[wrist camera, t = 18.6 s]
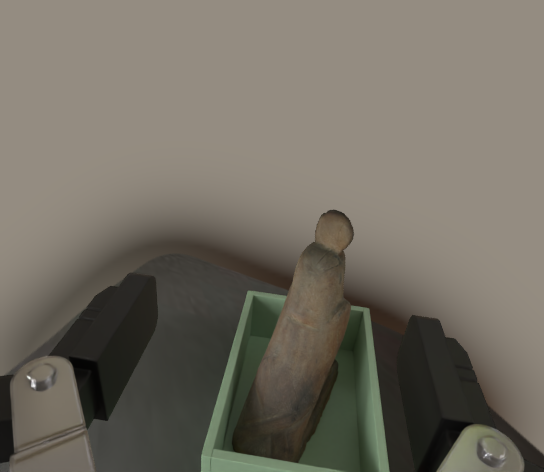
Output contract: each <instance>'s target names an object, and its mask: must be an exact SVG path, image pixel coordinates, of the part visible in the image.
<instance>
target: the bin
mask: <svg viewBox="0 0 544 472" xmlns="http://www.w3.org/2000/svg"><path fill="white" fill-rule="evenodd" d="M286 297H287V296H282V295H276V294H269V293H262V292H254V291H248V293H247V296H246V300H245V304H244V307H243V311H242V314H241V318H240V321H239V325H238V328H237V332H236V335H235V339H234V342H233V346H232V349H231V353H230V356H229V360H228V363H227V367H226V370H225V374H224V378H223V381H222V385H221V388H220V392H219V395H218V399H217V402H216V406H215V409H214V413H213V416H212V420H211V423H210V427H209V430H208V434H207V437H206V441H205V444H204V448H203V451H202V455H201V472H389V464H388V456H387V448H386V440H385V432H384V424H383V416H382V408H381V400H380V391H379V383H378V375H377V367H376V359H375V351H374V343H373V335H372V327H371V320H370V311H369V308H362V307H357V306H351V312H350V317H349V321H348V324H347V328H346V331H345V335H344V338H343V340H342V342H341V345H340V348H339V350H338V353H337V355H336V357H335V360H336V361H337V362H338V376H337V379H336V382H335V384H334V386H333V389H332V391H331V395H330V399H329V400H328V402H327V404H326V406H325V410H324V411H323V413H322V417H320V422H319V424H318V426H317V428H318V429H317V428H316V431H315V433H314V435H312V436H311V439H310V441H309V442H307V443H306V448H305V451H304V452H303V455H302V456H301V457H300V460H299V463H294V462H288V461H282V460H276V459H270V458H265V457H259V456H253V455H247V454H241V453H236V452H235V451H234V450H233V445H232V437H233V432H234V429H235V427H236V425H237V422H238V419H239V417H240V414H241V411H242V409H243V406H244V403H245V401H246V398H247V396H248V393H249V391H250V388H251V386H252V383H253V381H254V379H255V376H256V373H257V370H258V368H259V366H260V363H261V360H262V358H263V356H264V354H265V352H266V349H267V347H268V344H269V342H270V339H271V337H272V335H273V332H274V330H275V327H276V325H277V322H278V319H279V316H280V314H281V311H282V309H283V306H284V303H285V300H286Z"/></svg>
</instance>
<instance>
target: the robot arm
mask: <svg viewBox="0 0 544 472" xmlns="http://www.w3.org/2000/svg"><path fill="white" fill-rule="evenodd" d="M157 319H158V307H157V292H156V280H155V277H154V276H150V275H143V274H137V273H129V274H128V275H127V276H126V277H125V279H124V280H123V282H122V283H121V284H120V286H119V287H114V286H110V287H108V288H107V289H105V290H104V291H102V292H101V293H99V294H97V295H96V296H95V297H94V298H93V300H92V301H91V302H90V304H89V305H88V306H87V309H86V310H84V311H83V312H82V314H81V315H80V316H79V319H77V320H76V321H75V323H74V324H73V325H72V327H71V328H70V329H69V330H68V332H67V333H66V334H65V335H64V337H63V338H62V339H61V341H60V342H59V343H58V344H57V346H56V347H55V348H54V349H53V351H52V352H51V353H50V355H49V356H45V357H41V358H37V359H35V360H32V361H30V362H28V363H27V364H25V365H24V366H22V367H21V368H20V369H19V370H18V371H17V372H16V373H15V374H14V375H7V376H0V463H3V462H9V461H10V472H96V469H95V464H94V460H93V455H92V451H91V446H90V442H89V437H88V433H87V430H88V428H89V426H90V424H91V423H92V421H93V419H99V420H105V421H108V419H109V417H110V415H111V413H112V411H113V409H114V407H115V405H116V403H117V402H118V400H119V398H120V396H121V394H122V392H123V390H124V388H125V386H126V384H127V383H128V381H129V379H130V377H131V375H132V373H133V371H134V369H135V367H136V365H137V363H138V362H139V360H140V358H141V356H142V354H143V352H144V350H145V348H146V346H147V344H148V342H149V341H150V339H151V337H152V335H153V333H154V331H155V328H156V324H157ZM472 368H473V367H472V365H471V362H470V359H469V357H468V354H467V352H466V351H465V350H464V349H463V347H462V346H461V345H460V344H459V343H458V342H457V341H456V339H454V338H446V337H445V335H444V332H443V329H442V326H441V323H440V321H439V320H438V319H435V318H429V317H422V316H415V315H412V316H411V318H410V320H409V322H408V325H407V328H406V331H405V334H404V337H403V340H402V343H401V346H400V349H399V352H398V357H397V373H398V378H399V384H400V389H401V395H402V400H403V406H404V412H405V417H406V423H407V428H408V434H409V439H410V445H411V450H412V456H413V461H414V467H415V472H544V468H542V467H539V466H537V465H535V464H533V463H531V462H529V461H527V460H525V459H524V458H522V455H521V453H520V451H519V450H518V448H517V447H516V445H515V444H514V443H513V442H512V441H511V440H510V439H509V438H508V437H507V436H505V435H504V434H503V433H501V432H499V431H498V430H497V429H496V426H495V424H494V421H493V419H492V416H491V414H490V411H489V408H488V406H487V403H486V401H485V398H484V395H483V393H482V390H481V388H480V385H479V383H477V377H476V375H475V372H474V370H472Z"/></svg>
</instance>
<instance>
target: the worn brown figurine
mask: <svg viewBox="0 0 544 472" xmlns="http://www.w3.org/2000/svg"><path fill="white" fill-rule="evenodd" d="M353 236H354V232H353V227H352V225H351V222H350V220H349V218H347V217H346V215H345V214H344V213H342V212H339V211H337V210H330V211H328V212H327V213H323V214H322V215H321V217H320V219H319V221H318V224H317V227H316V231H315V242H313V243H312V244H310V245H309V246H308V247H307V248H306V249H305V250H304V251H303V253H302V255H301V256H300V258H299V260H298V263H297V266H296V269H295V273H294V277H293V283H292V285H291V287H290V289H289V292H288V295H287V297H286V300H285V303H284V306H283V309H282V311H281V314H280V316H279V319H278V322H277V325H276V327H275V330H274V332H273V335H272V337H271V339H270V342H269V344H268V347H267V349H266V352H265V354H264V356H263V358H262V360H261V363H260V366H259V368H258V370H257V373H256V376H255V379H254V381H253V383H252V386H251V388H250V391H249V393H248V396H247V398H246V401H245V403H244V406H243V409H242V411H241V414H240V417H239V419H238V422H237V425H236V427H235V429H234V432H233V437H232V445H233V450H234V451H235V452H236V453H241V454H247V455H253V456H259V457H265V458H270V459H276V460H282V461H288V462H294V463H299V460H300V457H301V456H302V455H303V452H304V451H305V448H306V443H307V442H309V441H310V439H311V436H312V435H314V433H315V431H316V428H317V426H318V424H319V422H320V417H322V413H323V411H324V410H325V406H326V404H327V402H328V400H329V399H330V395H331V391H332V389H333V386H334V384H335V382H336V379H337V376H338V362H337V361H336V360H335V357H336V355H337V353H338V350H339V348H340V345H341V342H342V340H343V338H344V335H345V331H346V328H347V324H348V321H349V317H350V312H351V305H350V303H349V302H348V301H347V300H345V299H344V298H343V283H344V274H345V254H344V251H343V250H344V249H345V248H347V246H348V245H349V244H350V243H351V242H352V240H353ZM317 429H318V428H317Z"/></svg>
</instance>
